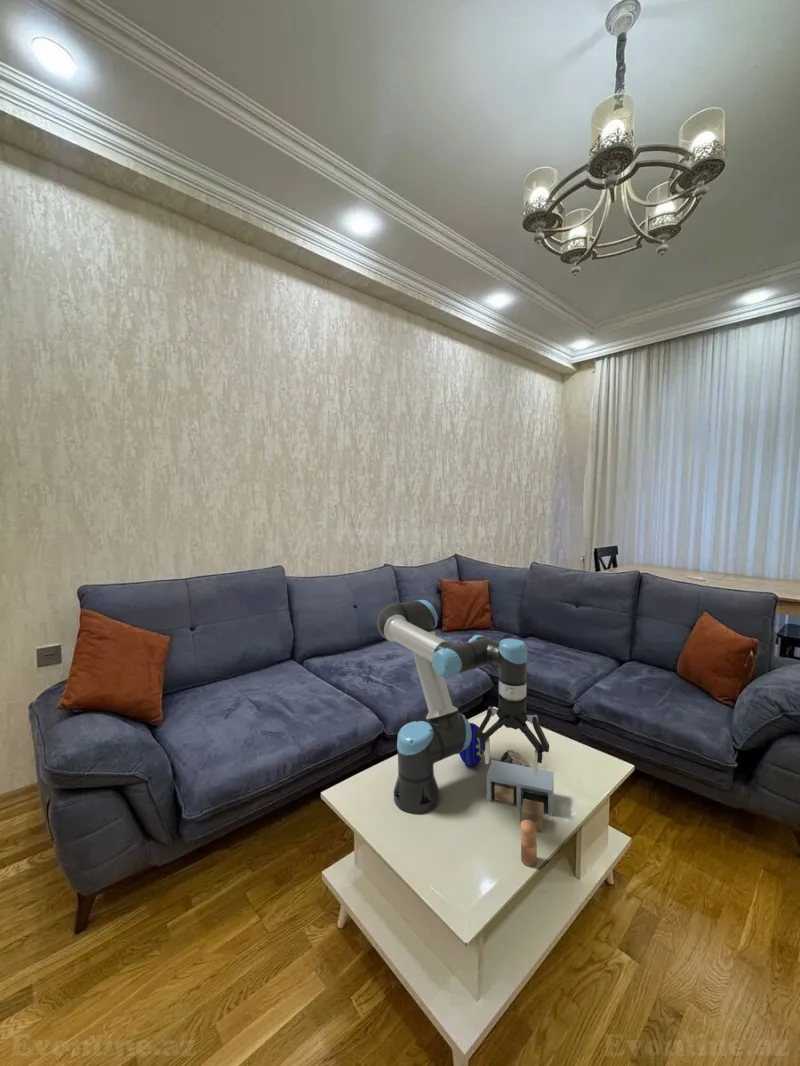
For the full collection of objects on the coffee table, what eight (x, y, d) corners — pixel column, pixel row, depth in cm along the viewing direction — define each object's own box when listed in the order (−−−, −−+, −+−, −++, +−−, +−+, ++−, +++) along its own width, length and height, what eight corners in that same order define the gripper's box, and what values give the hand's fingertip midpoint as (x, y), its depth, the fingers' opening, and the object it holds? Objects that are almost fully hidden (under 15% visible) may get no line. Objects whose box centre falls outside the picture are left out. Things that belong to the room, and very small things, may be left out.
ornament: (477, 774, 152) (477, 733, 152) (454, 766, 157) (453, 727, 156) (488, 758, 162) (488, 720, 161) (466, 751, 167) (465, 714, 166)
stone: (522, 787, 145) (523, 766, 145) (496, 769, 155) (496, 750, 155) (536, 780, 149) (537, 760, 149) (510, 763, 159) (510, 744, 159)
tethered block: (516, 863, 114) (516, 827, 114) (523, 814, 132) (523, 782, 132) (540, 869, 112) (539, 833, 111) (543, 818, 130) (543, 787, 130)
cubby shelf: (486, 801, 139) (486, 777, 138) (492, 782, 148) (491, 759, 147) (552, 815, 131) (552, 790, 131) (553, 795, 141) (553, 771, 140)
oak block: (494, 799, 139) (494, 785, 139) (498, 788, 145) (497, 774, 145) (513, 804, 137) (513, 789, 137) (516, 792, 142) (516, 778, 142)
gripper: (465, 693, 122) (465, 764, 124) (558, 709, 112) (556, 785, 114) (471, 682, 129) (471, 749, 131) (560, 697, 119) (558, 769, 121)
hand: (511, 766), depth 123 cm, fingers open, 13 cm apart
